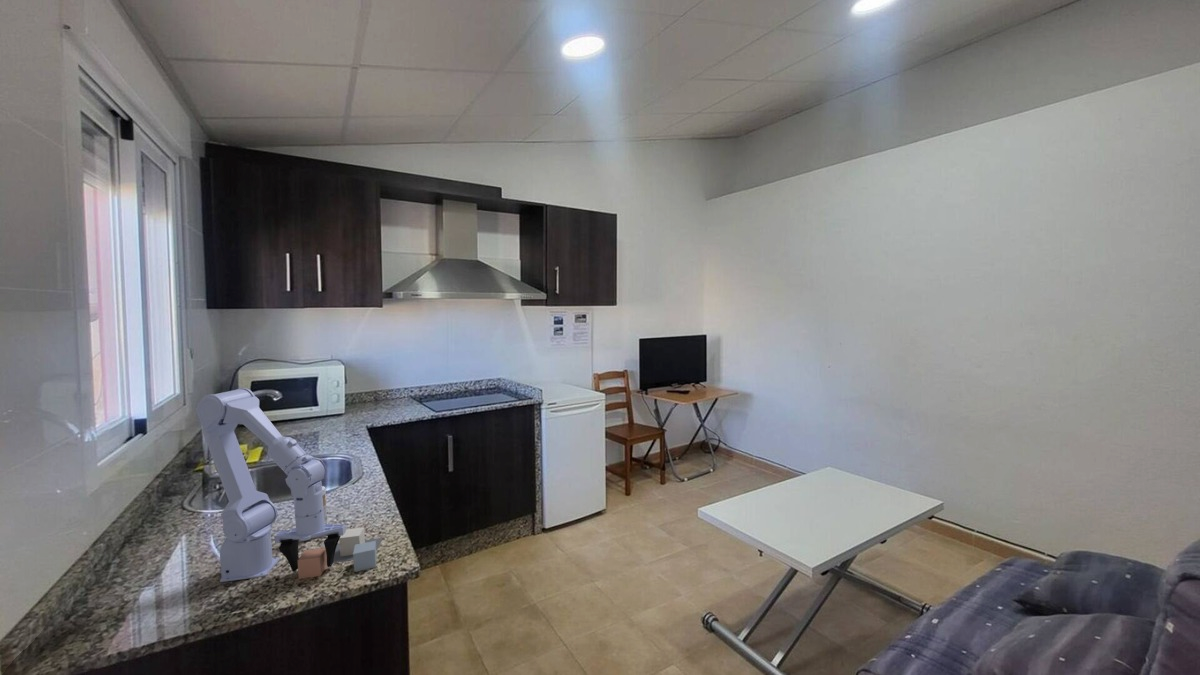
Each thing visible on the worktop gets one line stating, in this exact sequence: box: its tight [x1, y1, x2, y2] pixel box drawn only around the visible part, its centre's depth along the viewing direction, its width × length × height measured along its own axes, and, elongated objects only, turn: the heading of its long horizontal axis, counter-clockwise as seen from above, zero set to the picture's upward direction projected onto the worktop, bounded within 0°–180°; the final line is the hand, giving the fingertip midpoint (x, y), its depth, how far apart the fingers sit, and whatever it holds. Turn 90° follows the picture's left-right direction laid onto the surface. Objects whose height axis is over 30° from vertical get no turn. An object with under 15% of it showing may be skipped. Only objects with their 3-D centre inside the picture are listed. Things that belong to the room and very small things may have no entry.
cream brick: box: [338, 527, 366, 556], centre depth 119 cm, size 5×5×5 cm
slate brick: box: [352, 541, 378, 572], centre depth 113 cm, size 5×5×5 cm
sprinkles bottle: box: [312, 485, 328, 539], centre depth 128 cm, size 5×5×13 cm
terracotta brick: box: [297, 547, 328, 580], centre depth 110 cm, size 5×5×5 cm
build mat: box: [333, 537, 383, 564], centre depth 120 cm, size 12×10×1 cm
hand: (313, 567), depth 110 cm, fingers open, 7 cm apart
